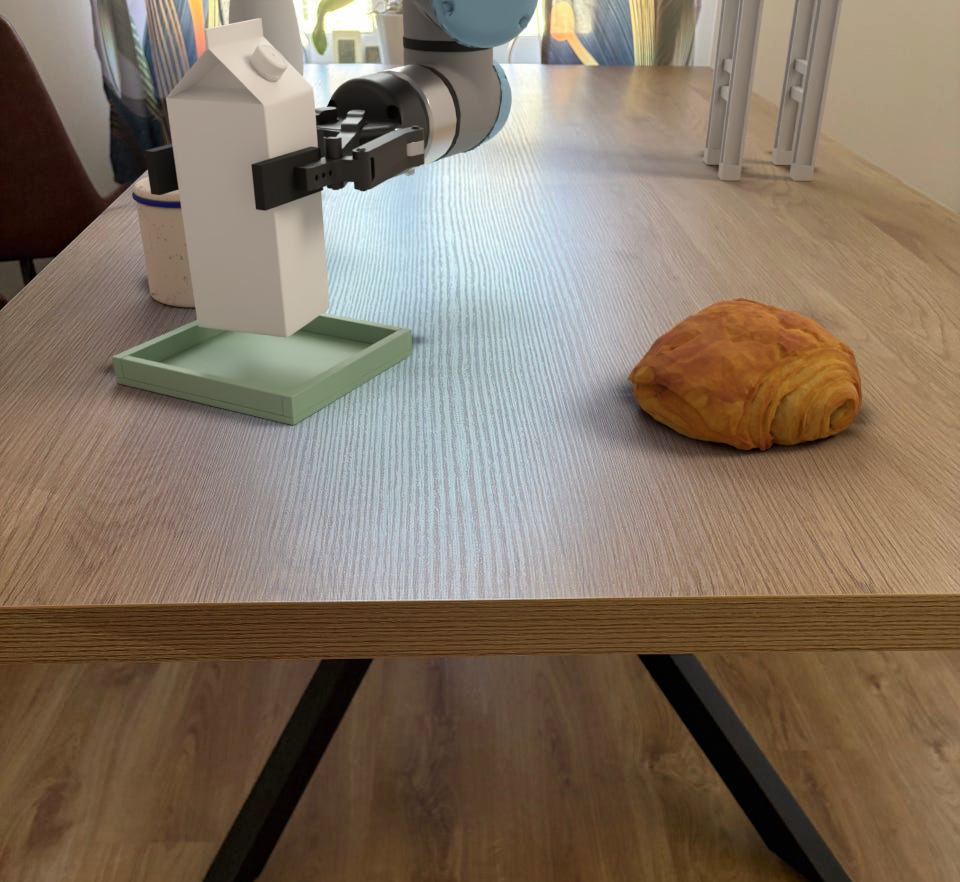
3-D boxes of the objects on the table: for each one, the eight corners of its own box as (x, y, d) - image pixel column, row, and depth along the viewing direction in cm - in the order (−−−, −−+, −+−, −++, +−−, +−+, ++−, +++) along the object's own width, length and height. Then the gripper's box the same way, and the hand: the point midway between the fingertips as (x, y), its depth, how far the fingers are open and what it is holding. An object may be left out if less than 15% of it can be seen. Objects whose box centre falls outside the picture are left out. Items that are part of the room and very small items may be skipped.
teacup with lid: (253, 307, 95) (238, 161, 89) (143, 312, 94) (120, 164, 88) (253, 267, 105) (240, 133, 99) (154, 271, 104) (134, 135, 97)
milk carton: (197, 329, 80) (154, 27, 69) (245, 300, 85) (212, 16, 75) (287, 340, 78) (257, 31, 67) (330, 310, 83) (309, 20, 73)
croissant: (743, 388, 87) (751, 281, 83) (897, 434, 75) (914, 311, 71) (586, 416, 81) (588, 302, 78) (725, 471, 69) (734, 339, 65)
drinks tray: (116, 383, 81) (111, 356, 80) (249, 321, 92) (246, 297, 91) (293, 425, 75) (291, 397, 74) (412, 354, 86) (411, 329, 85)
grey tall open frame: (708, 184, 136) (750, -170, 117) (684, 157, 149) (719, -166, 129) (833, 184, 137) (896, -168, 117) (799, 158, 150) (851, -164, 130)
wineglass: (283, 218, 120) (264, -7, 109) (230, 208, 124) (206, -11, 112) (327, 204, 126) (313, -12, 114) (275, 195, 129) (256, -15, 117)
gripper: (505, 189, 87) (342, 261, 70) (286, 161, 95) (93, 220, 78) (507, 82, 83) (334, 132, 66) (277, 62, 91) (72, 103, 74)
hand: (204, 180), depth 72 cm, fingers closed on milk carton, 8 cm apart
